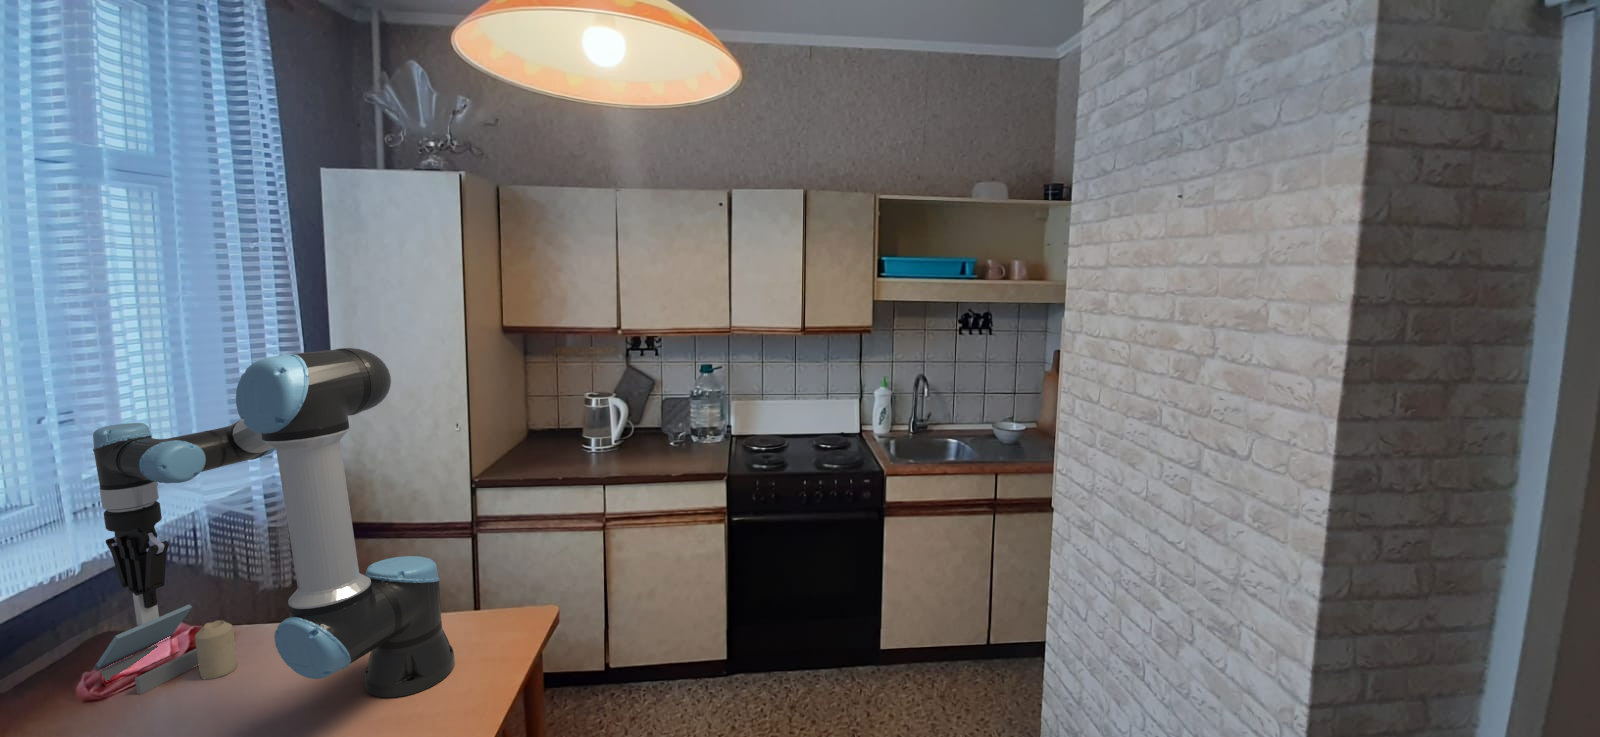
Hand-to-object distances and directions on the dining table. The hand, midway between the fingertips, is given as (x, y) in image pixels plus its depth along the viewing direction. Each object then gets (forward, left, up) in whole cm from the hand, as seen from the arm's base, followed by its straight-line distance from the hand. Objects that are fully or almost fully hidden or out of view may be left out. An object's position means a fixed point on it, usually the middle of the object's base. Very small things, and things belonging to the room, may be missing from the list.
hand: (148, 621), depth 127 cm
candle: (-12, -3, -11) cm, 16 cm away
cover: (+1, 0, -4) cm, 4 cm away
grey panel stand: (-1, 0, -10) cm, 10 cm away
